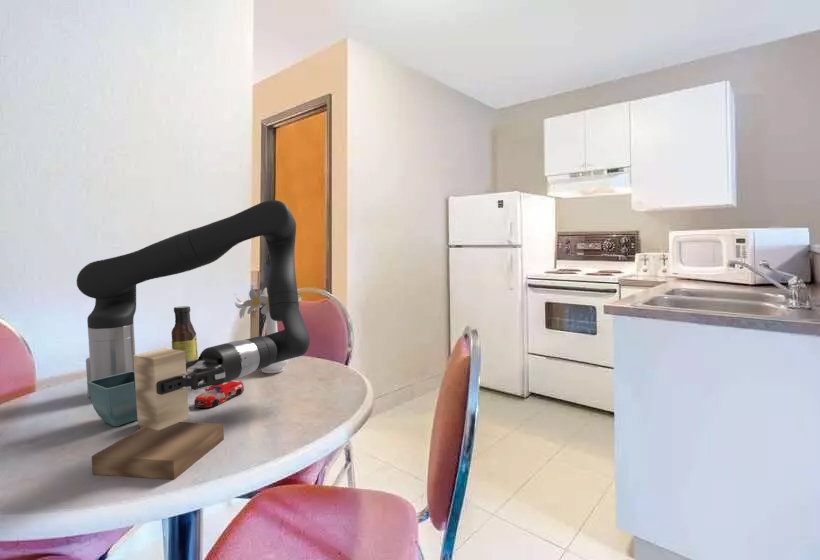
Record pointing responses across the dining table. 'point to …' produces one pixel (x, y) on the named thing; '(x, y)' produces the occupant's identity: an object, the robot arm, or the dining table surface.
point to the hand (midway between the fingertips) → (146, 386)
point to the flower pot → (114, 398)
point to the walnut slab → (158, 451)
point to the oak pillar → (151, 405)
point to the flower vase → (271, 324)
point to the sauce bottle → (184, 333)
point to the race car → (219, 394)
